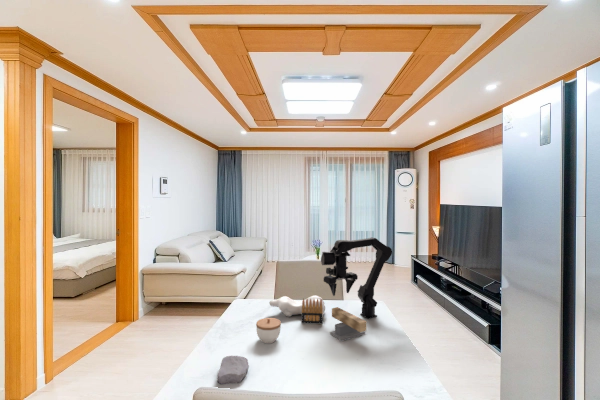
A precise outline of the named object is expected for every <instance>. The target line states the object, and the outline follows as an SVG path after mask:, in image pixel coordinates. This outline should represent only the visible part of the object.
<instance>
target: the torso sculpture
mask: <svg viewBox="0 0 600 400" xmlns="http://www.w3.org/2000/svg"><path fill="white" fill-rule="evenodd" d="M306 299H308V307H309V302H310V299H311V301H312V307H313V300H314V299H315V307H316V302H317V299H318V302H319V307H320V300H322V308H323V315H324V314H325V311H326V304H325V301H324V300H323V298H322V297H321V296H319V295H316V294H315V295H311V296H309V297H307V298H306ZM306 299H304V301H305V307H306ZM302 301H303V300H299V301H298V300H295V299H292V298H290V297H289V296H286V295H283V296H281V297H279V298H278V299H272V300H270V301H269V305H270V306H271V307H274V308H275V307H276V308H278V309H279V310H280V311H281V313H282V314H283V315H284V316H286V317H291V316H293V315H302Z"/></svg>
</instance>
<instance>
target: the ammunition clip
mask: <svg viewBox="0 0 600 400" xmlns="http://www.w3.org/2000/svg"><path fill="white" fill-rule="evenodd" d="M304 300H305V299H304V298H302V300H301V301H302V314H301V320H300V321H301V324H321V325H323V324H324V323H323V321H324V320H323V315H324V314H323V308H322V300H323V299H322V300H320V307H319V302H318V299H317V302H316V307H315V299H314V300H313V307H312V301H311V299H310V302H309V307H308V299H307V298H306V307H305V301H304Z"/></svg>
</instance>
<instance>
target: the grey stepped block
mask: <svg viewBox="0 0 600 400" xmlns="http://www.w3.org/2000/svg"><path fill="white" fill-rule="evenodd" d="M365 334H366V331H363V332H359V331H357V330H355V329H353V328H352V327H350V326H348V325H346V324H344V323H343V322H338V323H335V324H334V330H331V331H330V332H329V335H332V336H333V337H334V338H336V339H337V340H338V341H340V342H343V341H346V340H349V339H353V338H356V337H359V336H362V335H365Z"/></svg>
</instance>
